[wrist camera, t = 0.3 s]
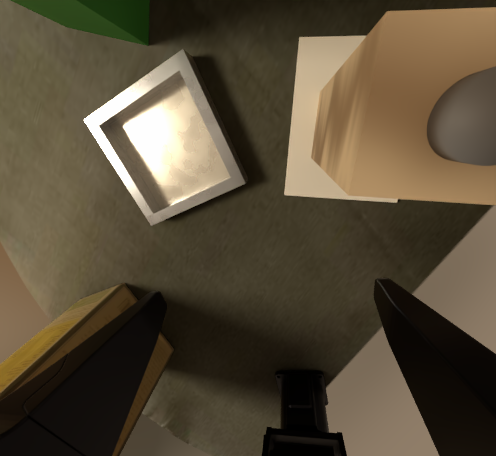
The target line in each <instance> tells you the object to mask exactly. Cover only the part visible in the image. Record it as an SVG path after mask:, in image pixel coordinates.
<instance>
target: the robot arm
mask: <svg viewBox="0 0 496 456" xmlns="http://www.w3.org/2000/svg"><path fill="white" fill-rule="evenodd" d="M374 300H375V303H376V306H377V309H378V312H379V316H380V319H381V322H382V325H383V328H384V331H385V334H386V337H387V340H388V342H389V345H390V347H391V349H392V352H393V354H394V356H395V358H396V360H397V362H398V365H399V367H400V369H401V372H402V374H403V376H404V378H405V380H406V383H407V385H408V387H409V389H410V391H411V394H412V396H413V398H414V400H415V403H416V405H417V407H418V409H419V411H420V414H421V416H422V418H423V420H424V423H425V425H426V427H427V429H428V431H429V434H430V436H431V438H432V440H433V442H434V445H435V447H436V449H437V451H438V454H439V456H496V354H495V353H494V352H492V351H491V350H489V349H488V348H486V347H485V346H484V345H482V344H481V343H479V342H478V341H477V340H475V339H474V338H472V337H471V336H470V335H468V334H467V333H465V332H464V331H463V330H461V329H460V328H458V327H457V326H455V325H454V324H453V323H451V322H450V321H448V320H447V319H446V318H444V317H443V316H441V315H440V314H439V313H437V312H436V311H434V310H433V309H431V308H430V307H429V306H427V305H426V304H424V303H423V302H422V301H420V300H419V299H417V298H416V297H414V296H413V295H412V294H410V293H409V292H407V291H406V290H405V289H403V288H402V287H400V286H399V285H398V284H396V283H395V282H393V281H392V280H391V279H389V278H377V279H376V280H375V286H374ZM166 309H167V304H166V302H165V300H164V298H163V296H162V294H161V293H160V292H159V291H152V292H149V293H148V294H146V295H145V296H144V297H142V298H141V299H140V300H138V301H137V302H136V303H134V304H133V305H132V306H130V307H129V308H128V309H126V310H125V311H124V312H122V313H121V314H120V315H118V316H117V317H116V318H114V319H113V320H112V321H110V322H109V323H108V324H106V325H105V326H103V327H102V328H101V329H99V330H98V331H97V332H95V333H94V334H93V335H91V336H90V337H89V338H87V339H86V340H85V341H83V342H82V343H81V344H79V345H78V346H77V347H75V348H74V349H73V350H71V351H70V352H69V353H67V354H66V355H64V356H63V357H62V358H60V359H59V360H58V361H56V362H55V363H54V364H52V365H51V366H49V367H48V368H47V369H45V370H44V371H43V372H41V373H40V374H38V375H37V376H35V377H34V378H33V379H31V380H30V381H28V382H27V383H25V384H24V385H22V386H21V387H19V388H18V389H16V390H15V391H14V392H12V393H11V394H9V395H8V396H6V397H5V398H3V399H2V400H0V456H112V455H113V453H114V450H115V448H116V445H117V443H118V440H119V438H120V435H121V432H122V430H123V427H124V425H125V422H126V420H127V417H128V415H129V412H130V410H131V407H132V404H133V402H134V399H135V397H136V394H137V392H138V389H139V387H140V384H141V382H142V379H143V376H144V374H145V371H146V369H147V366H148V364H149V361H150V359H151V356H152V354H153V351H154V348H155V346H156V343H157V340H158V337H159V334H160V330H161V327H162V323H163V320H164V316H165V313H166ZM275 378H276V382H277V385H278V389H279V393H280V396H281V429H276V428H272V427H267V430H266V434H265V435H264V440H263V451H262V456H347V454H346V450H345V445H344V440H343V436H342V433H340V432H337V433H329V429H328V422H327V415H326V408H325V405H327V404H328V400H327V394H326V387H325V381H324V375H323V373H322V372H320V371H301V372H276V373H275Z"/></svg>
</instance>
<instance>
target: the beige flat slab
mask: <svg viewBox="0 0 496 456" xmlns="http://www.w3.org/2000/svg"><path fill="white" fill-rule="evenodd" d="M365 37H366V36H329V37H299V46H298V57H297V67H296V77H295V88H294V98H293V109H292V119H291V130H290V140H289V151H288V161H287V172H286V182H285V193H284V195H291V196H305V197H320V198H335V199H350V200H364V201H379V202H394V203H397V201H398V199H393V198H378V197H363V196H348V195H347V194H346V193H345V192H344V191H343V190H342V189H341V188H340V187H339V186H338V185H337V184H336V183H335V182H334V181H333V180H332V179H331V178H330V177H329V176H328V175H327V174H326V173H325V171H324V170H323V169H322V168H321V167H320V166H319V165H318V164H317V163H316V162H315V161H314V160H313V159H312V158H311V154H312V146H313V139H314V131H315V124H316V117H317V109H318V102H319V94H320V91H321V90H322V89H323V88H324V86H325V85H326V84H327V83H328V82H329V80H330V79H331V78H332V77H333V76H334V74H335V73H336V72H337V71H338V70H339V68H340V67H341V66H342V65H343V64H344V62H345V61H346V60H347V59H348V58H349V57H350V55H351V54H352V53H353V52H354V51H355V49H356V48H357V47H358V46H359V45H360V43H361V42H362V41H363V40H364V39H365Z"/></svg>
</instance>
